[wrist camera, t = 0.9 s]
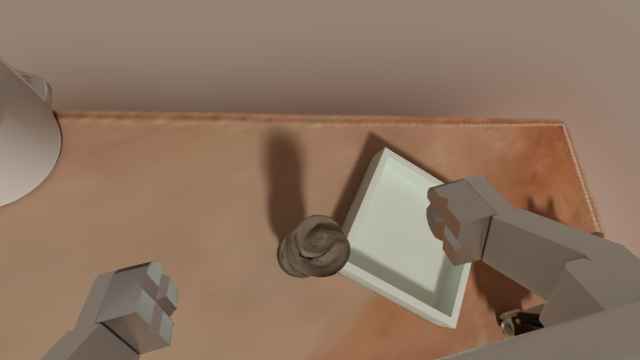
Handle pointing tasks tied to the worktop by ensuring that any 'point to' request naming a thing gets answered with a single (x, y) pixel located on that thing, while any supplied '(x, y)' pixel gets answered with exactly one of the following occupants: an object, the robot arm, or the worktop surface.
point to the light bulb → (314, 248)
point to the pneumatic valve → (521, 321)
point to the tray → (401, 242)
